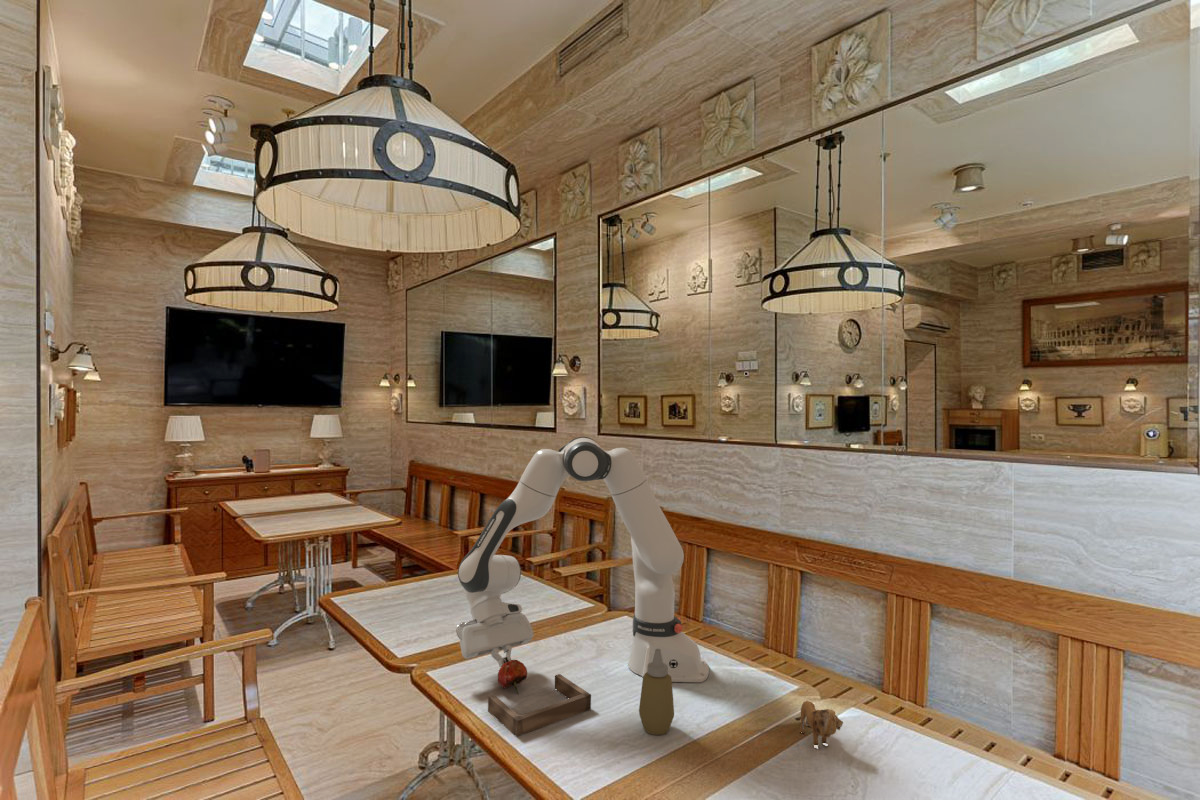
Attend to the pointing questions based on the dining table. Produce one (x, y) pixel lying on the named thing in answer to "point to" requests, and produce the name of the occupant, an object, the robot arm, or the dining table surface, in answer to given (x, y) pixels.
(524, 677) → the red round fruit
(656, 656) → the squeeze bottle
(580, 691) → the walnut bay
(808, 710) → the lion figurine
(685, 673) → the robot arm
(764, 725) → the dining table surface
